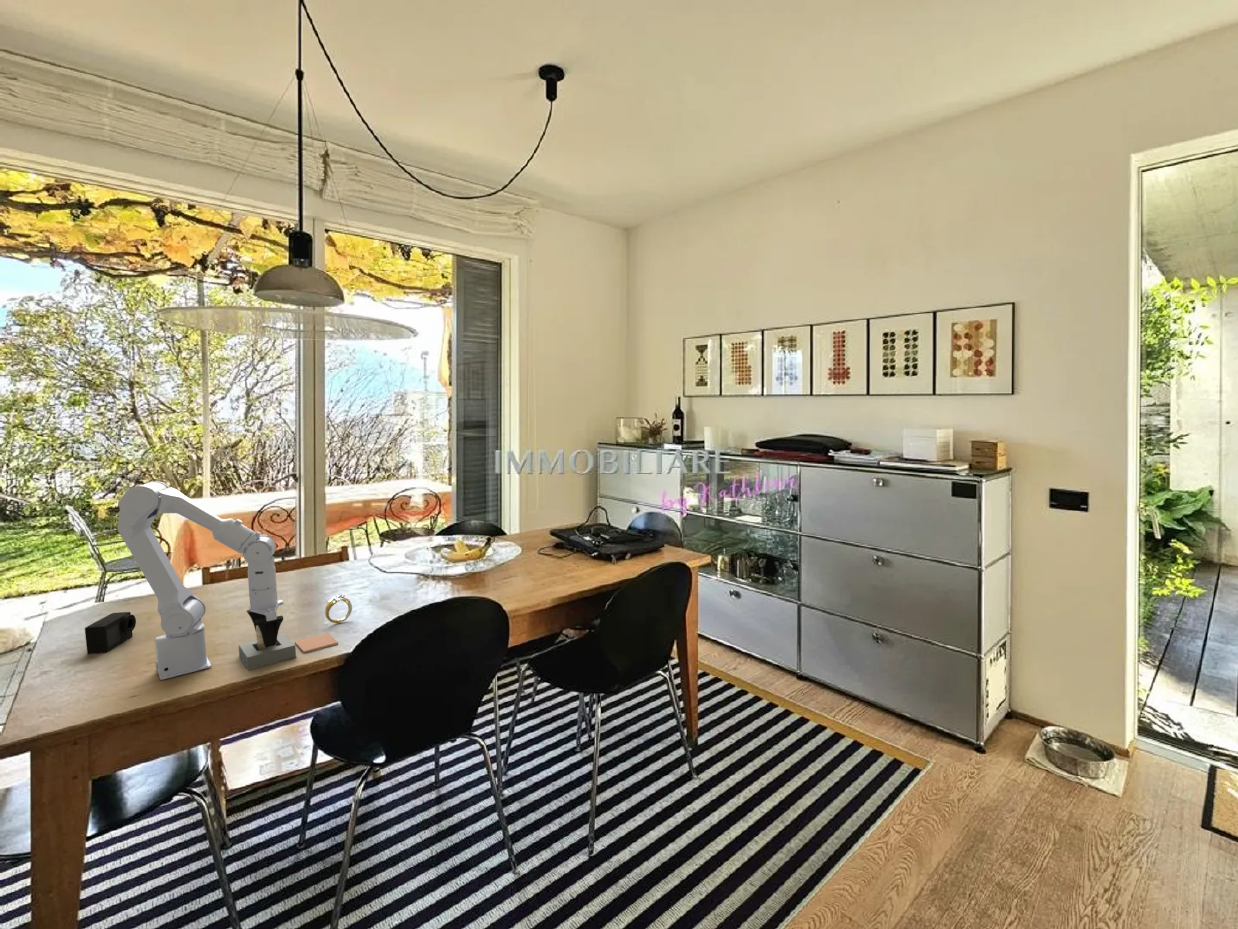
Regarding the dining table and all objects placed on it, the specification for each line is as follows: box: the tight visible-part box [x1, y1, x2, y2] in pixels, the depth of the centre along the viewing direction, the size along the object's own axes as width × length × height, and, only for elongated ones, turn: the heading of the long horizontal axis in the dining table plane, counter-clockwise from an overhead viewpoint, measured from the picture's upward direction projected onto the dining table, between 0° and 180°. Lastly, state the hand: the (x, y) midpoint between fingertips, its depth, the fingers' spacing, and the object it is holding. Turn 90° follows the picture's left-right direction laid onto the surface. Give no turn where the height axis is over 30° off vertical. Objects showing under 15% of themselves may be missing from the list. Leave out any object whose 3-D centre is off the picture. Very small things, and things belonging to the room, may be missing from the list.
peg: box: [255, 625, 277, 651], centre depth 142 cm, size 4×4×8 cm
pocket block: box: [238, 632, 297, 671], centre depth 142 cm, size 10×10×3 cm
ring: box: [324, 594, 353, 625], centre depth 163 cm, size 7×3×8 cm, turn 132°
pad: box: [294, 632, 339, 654], centre depth 150 cm, size 8×8×1 cm
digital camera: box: [84, 611, 137, 655], centre depth 149 cm, size 10×5×7 cm, turn 11°
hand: (266, 641), depth 142 cm, fingers open, 7 cm apart
